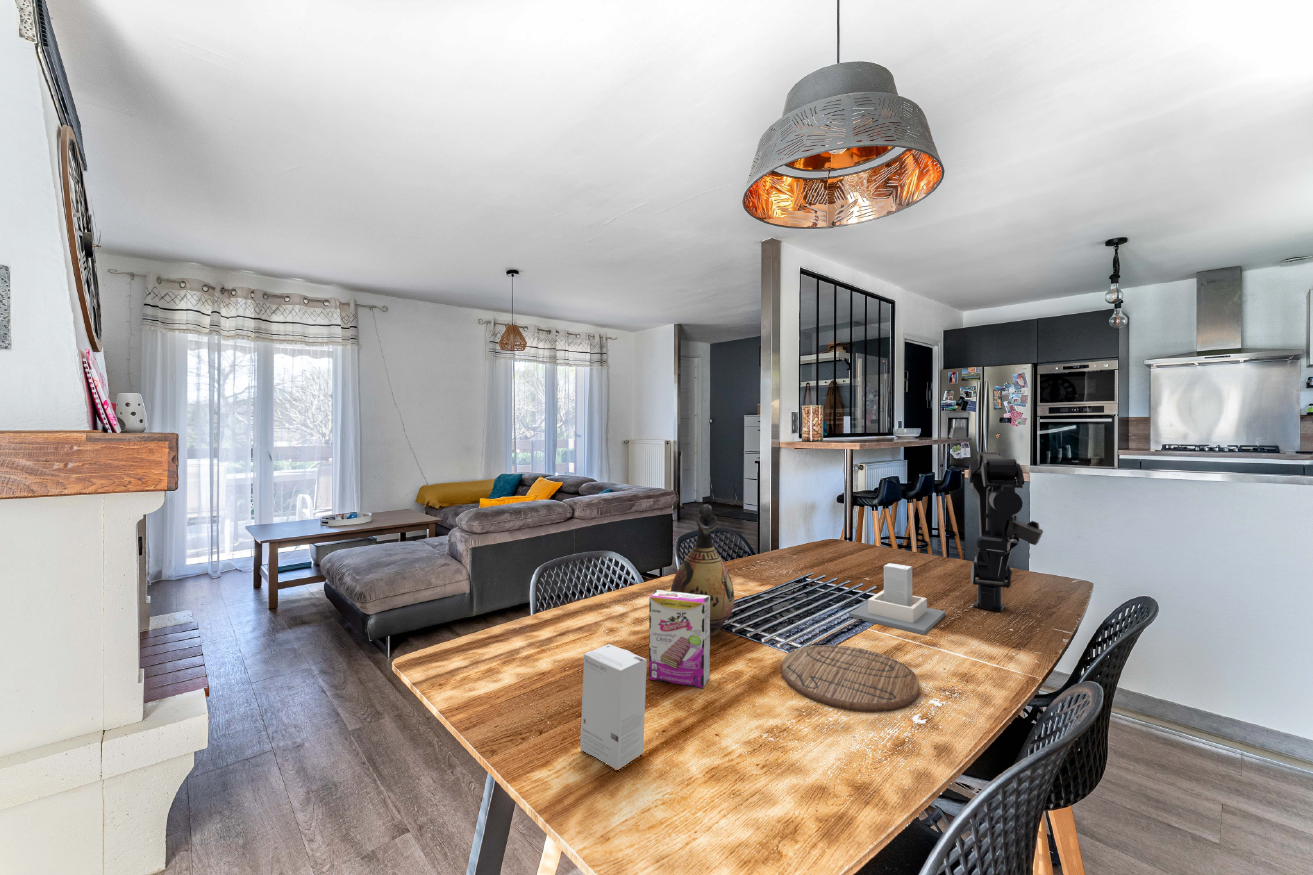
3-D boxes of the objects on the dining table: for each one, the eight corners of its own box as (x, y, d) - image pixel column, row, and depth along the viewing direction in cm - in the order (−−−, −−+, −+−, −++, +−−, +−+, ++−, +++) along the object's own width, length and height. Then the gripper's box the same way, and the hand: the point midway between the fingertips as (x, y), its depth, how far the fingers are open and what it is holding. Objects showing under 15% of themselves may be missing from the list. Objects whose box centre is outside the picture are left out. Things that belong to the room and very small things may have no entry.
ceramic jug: (738, 643, 123) (738, 511, 123) (670, 642, 123) (670, 510, 123) (729, 617, 140) (729, 501, 140) (669, 616, 140) (669, 500, 140)
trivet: (910, 729, 88) (910, 717, 88) (763, 690, 101) (763, 680, 101) (926, 670, 110) (926, 661, 110) (803, 644, 123) (803, 636, 123)
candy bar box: (647, 680, 105) (647, 596, 104) (656, 669, 109) (656, 588, 109) (704, 689, 101) (704, 602, 101) (710, 678, 106) (710, 594, 105)
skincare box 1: (579, 751, 82) (579, 653, 82) (608, 734, 86) (607, 641, 86) (619, 774, 76) (619, 669, 76) (647, 754, 81) (647, 655, 81)
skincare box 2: (912, 612, 140) (913, 566, 140) (907, 616, 137) (907, 569, 137) (888, 607, 144) (888, 562, 144) (882, 611, 141) (883, 565, 141)
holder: (883, 602, 148) (883, 589, 148) (926, 611, 141) (926, 598, 141) (867, 612, 140) (868, 599, 140) (913, 623, 133) (913, 608, 133)
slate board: (875, 600, 153) (875, 597, 153) (945, 615, 141) (945, 611, 141) (849, 616, 140) (849, 613, 140) (924, 634, 128) (924, 630, 128)
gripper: (1033, 517, 120) (1032, 588, 121) (1046, 508, 134) (1045, 572, 134) (976, 512, 128) (975, 578, 128) (993, 504, 142) (993, 564, 142)
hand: (999, 573), depth 133 cm, fingers open, 9 cm apart
